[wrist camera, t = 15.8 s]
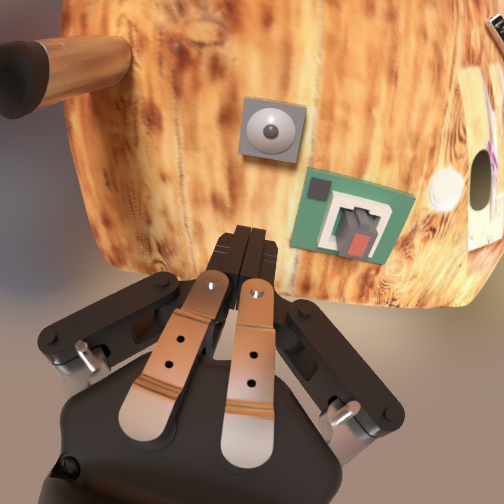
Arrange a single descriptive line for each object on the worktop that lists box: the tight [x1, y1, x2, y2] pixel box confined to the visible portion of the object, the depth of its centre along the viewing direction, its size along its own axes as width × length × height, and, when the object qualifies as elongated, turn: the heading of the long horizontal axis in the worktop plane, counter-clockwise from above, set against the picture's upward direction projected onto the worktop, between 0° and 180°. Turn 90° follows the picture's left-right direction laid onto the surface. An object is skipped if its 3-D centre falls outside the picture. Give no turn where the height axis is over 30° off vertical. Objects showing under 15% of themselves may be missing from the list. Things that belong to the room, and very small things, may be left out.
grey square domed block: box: [238, 97, 307, 164], centre depth 34 cm, size 8×8×3 cm
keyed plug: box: [335, 207, 378, 261], centre depth 38 cm, size 4×6×6 cm
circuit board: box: [290, 167, 416, 265], centre depth 41 cm, size 18×14×3 cm
